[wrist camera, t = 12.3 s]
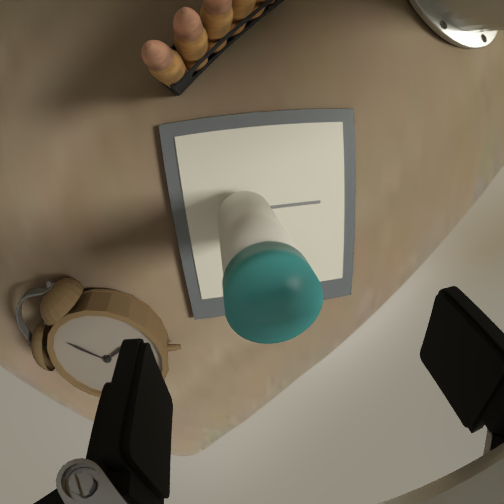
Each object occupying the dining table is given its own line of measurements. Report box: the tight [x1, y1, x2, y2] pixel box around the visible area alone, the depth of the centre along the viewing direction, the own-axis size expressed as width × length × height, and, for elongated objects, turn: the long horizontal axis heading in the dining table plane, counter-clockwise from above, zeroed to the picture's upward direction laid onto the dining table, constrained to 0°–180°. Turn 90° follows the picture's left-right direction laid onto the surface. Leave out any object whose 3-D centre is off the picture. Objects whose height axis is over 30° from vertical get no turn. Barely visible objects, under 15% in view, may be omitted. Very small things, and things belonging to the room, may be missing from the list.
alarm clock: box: [16, 278, 181, 397], centre depth 25 cm, size 11×5×15 cm
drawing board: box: [159, 109, 356, 320], centre depth 24 cm, size 14×16×1 cm
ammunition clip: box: [141, 0, 283, 96], centre depth 13 cm, size 11×2×12 cm, turn 136°
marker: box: [217, 191, 323, 344], centre depth 18 cm, size 4×4×12 cm
